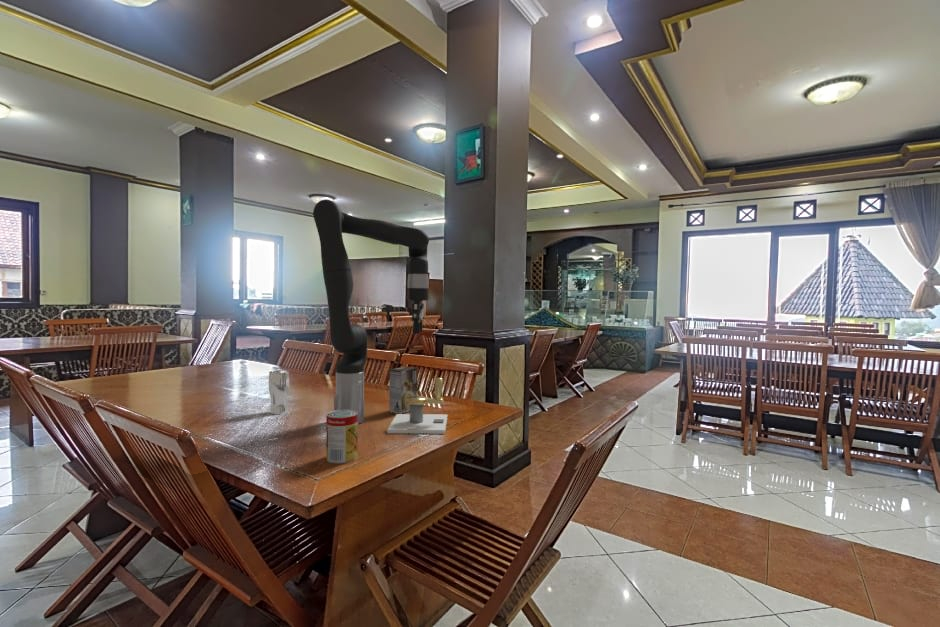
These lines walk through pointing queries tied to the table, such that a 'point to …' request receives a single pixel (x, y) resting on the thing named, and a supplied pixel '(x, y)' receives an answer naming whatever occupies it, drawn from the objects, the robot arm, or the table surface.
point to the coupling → (423, 400)
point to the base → (423, 426)
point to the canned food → (342, 436)
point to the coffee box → (401, 388)
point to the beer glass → (278, 391)
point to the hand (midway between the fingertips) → (417, 332)
